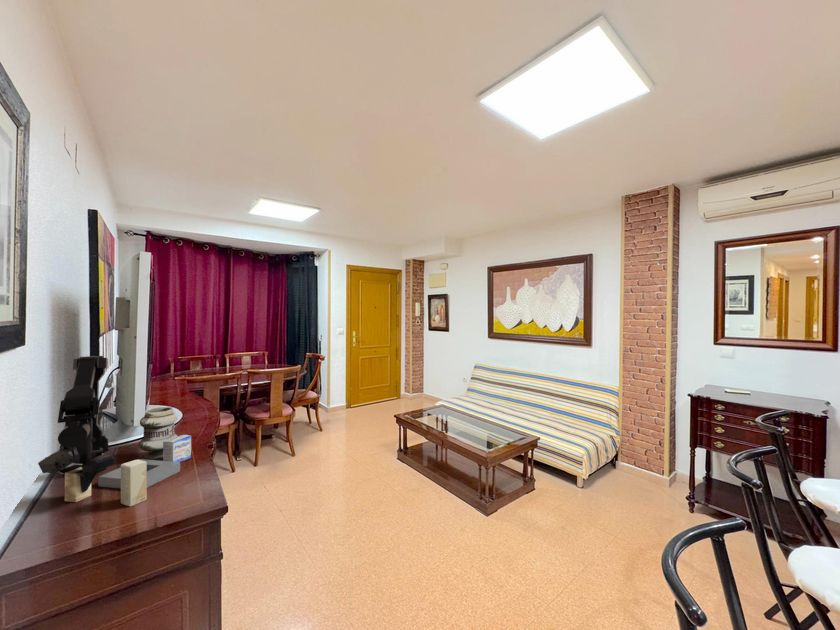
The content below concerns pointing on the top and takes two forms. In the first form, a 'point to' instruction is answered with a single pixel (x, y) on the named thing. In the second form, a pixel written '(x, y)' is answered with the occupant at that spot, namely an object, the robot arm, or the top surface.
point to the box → (133, 482)
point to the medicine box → (177, 449)
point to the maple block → (74, 487)
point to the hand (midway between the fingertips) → (78, 491)
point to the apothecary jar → (157, 431)
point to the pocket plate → (154, 473)
